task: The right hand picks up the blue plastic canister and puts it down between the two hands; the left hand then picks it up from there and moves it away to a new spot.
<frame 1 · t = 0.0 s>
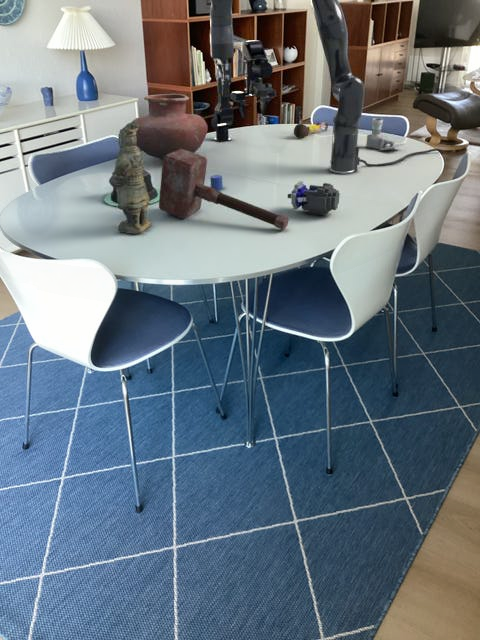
left hand: (253, 116, 230), 15 cm above the table, tool pointing down, fingers open, 9 cm apart
right hand: (223, 95, 187), 29 cm above the table, tool pointing down, fingers open, 8 cm apart
toy: (312, 213, 171), on the table
clay pot: (171, 160, 229), on the table
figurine: (310, 134, 265), on the table
sledgehammer: (224, 220, 166), on the table
grey boot: (383, 149, 237), on the table
canister: (216, 188, 194), on the table
statue: (134, 229, 162), on the table
chocolate cake: (134, 197, 187), on the table
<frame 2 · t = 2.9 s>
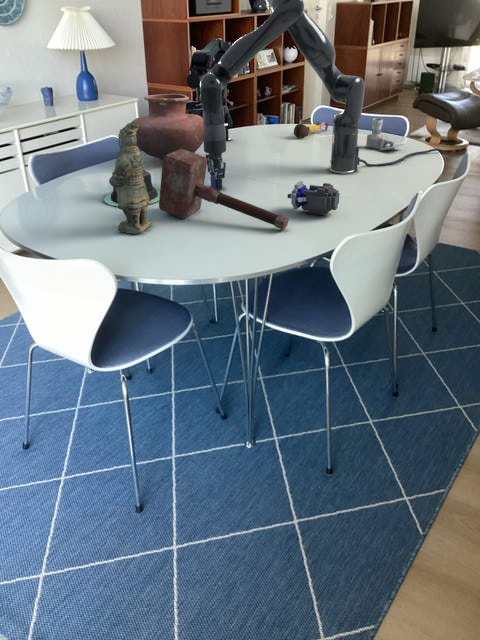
left hand: (205, 124, 237), 11 cm above the table, tool pointing down, fingers open, 9 cm apart
right hand: (216, 187, 194), 0 cm above the table, tool pointing down, fingers closed on canister, 4 cm apart
canister: (216, 188, 194), on the table, touching right hand
everything else where it was.
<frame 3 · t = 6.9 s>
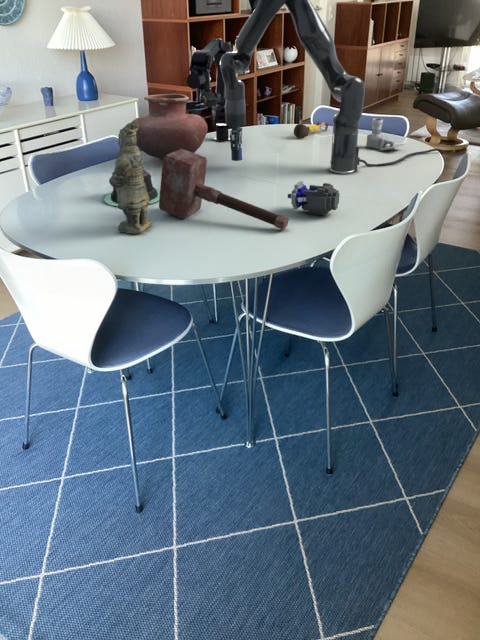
left hand: (205, 124, 237), 11 cm above the table, tool pointing down, fingers open, 9 cm apart
right hand: (236, 158, 213), 4 cm above the table, tool pointing down, fingers closed on canister, 4 cm apart
canister: (236, 159, 213), point 4 cm above the table, touching right hand
everything else where it was.
when the right hand's fingers open (1 cm above the table, at t = 10.8 s): canister stays where it is, on the table.
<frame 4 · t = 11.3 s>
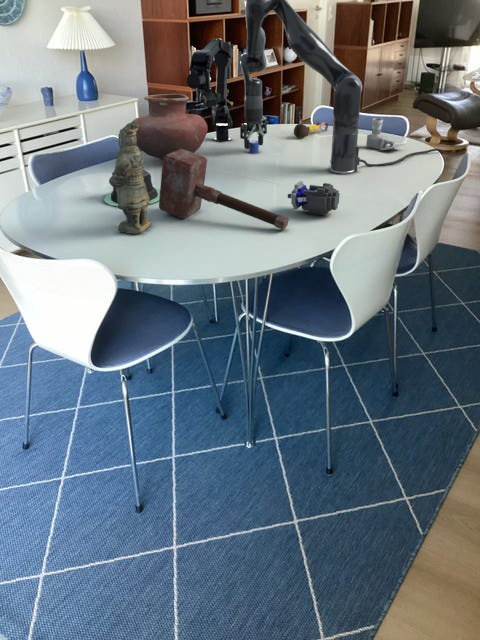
left hand: (205, 124, 237), 11 cm above the table, tool pointing down, fingers open, 9 cm apart
right hand: (253, 146, 236), 2 cm above the table, tool pointing down, fingers open, 8 cm apart
canister: (253, 152, 238), on the table
everything else where it was.
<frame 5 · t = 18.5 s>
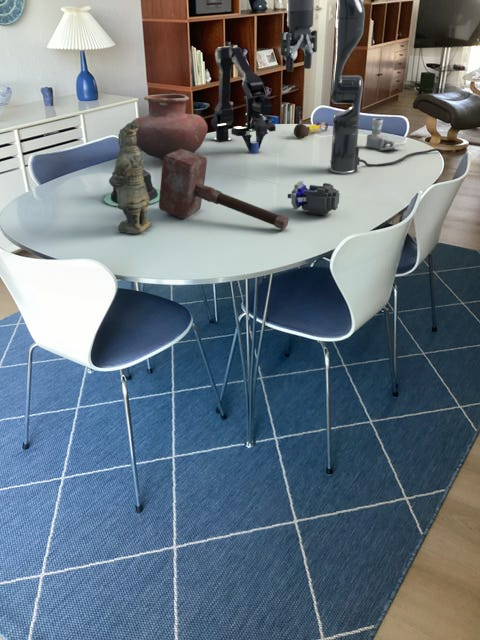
left hand: (253, 149, 237), 1 cm above the table, tool pointing down, fingers closed on canister, 4 cm apart
right hand: (298, 70, 168), 38 cm above the table, tool pointing down, fingers open, 8 cm apart
canister: (253, 152, 238), on the table, touching left hand
everything else where it was.
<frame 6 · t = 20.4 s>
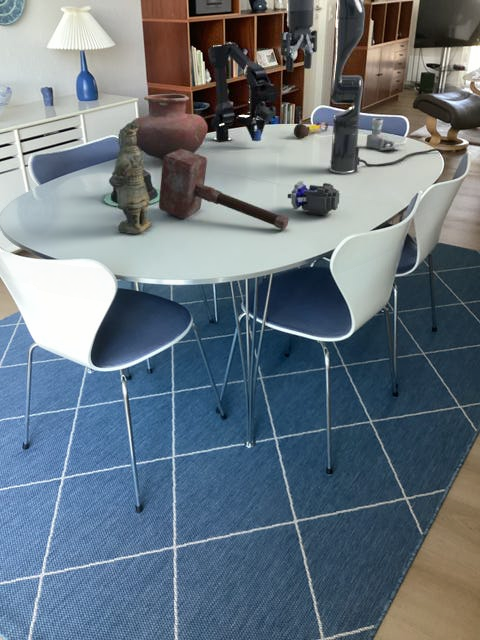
left hand: (256, 137, 241), 5 cm above the table, tool pointing down, fingers closed on canister, 4 cm apart
right hand: (298, 70, 168), 38 cm above the table, tool pointing down, fingers open, 8 cm apart
canister: (256, 140, 242), point 4 cm above the table, touching left hand
everything else where it was.
when the left hand's fingers open (2 cm above the table, at t = 22.7 s): canister stays where it is, on the table.
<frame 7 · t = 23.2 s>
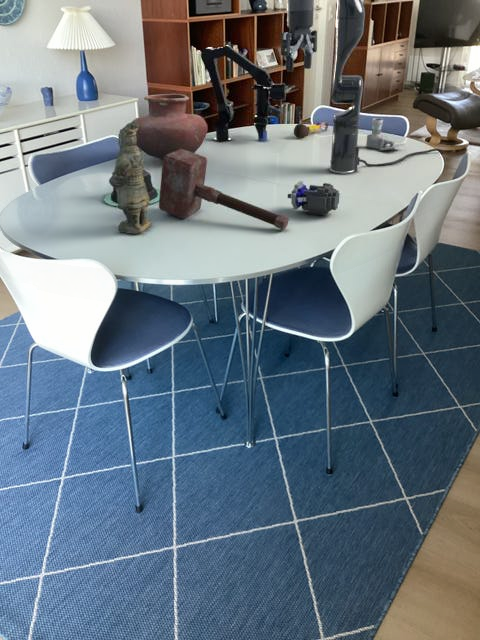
left hand: (262, 136, 255), 2 cm above the table, tool pointing down, fingers open, 9 cm apart
right hand: (298, 70, 168), 38 cm above the table, tool pointing down, fingers open, 8 cm apart
canister: (262, 140, 256), on the table
everything else where it was.
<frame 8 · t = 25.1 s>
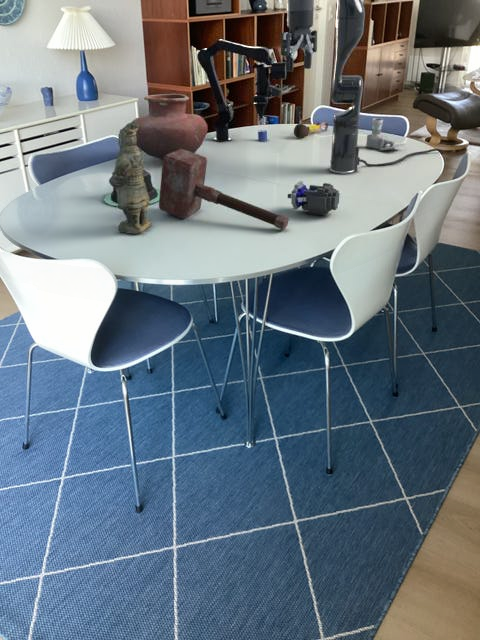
left hand: (262, 116, 251), 11 cm above the table, tool pointing down, fingers open, 9 cm apart
right hand: (298, 70, 168), 38 cm above the table, tool pointing down, fingers open, 8 cm apart
nothing on the table moved.
at the end: canister inside the target area (0.0 cm from its centre), on the table; canister tilted 0°; the two hands never held the canister at the same time; the left hand is holding nothing; the right hand is holding nothing; canister at rest at the end (0.0 cm/s) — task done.
